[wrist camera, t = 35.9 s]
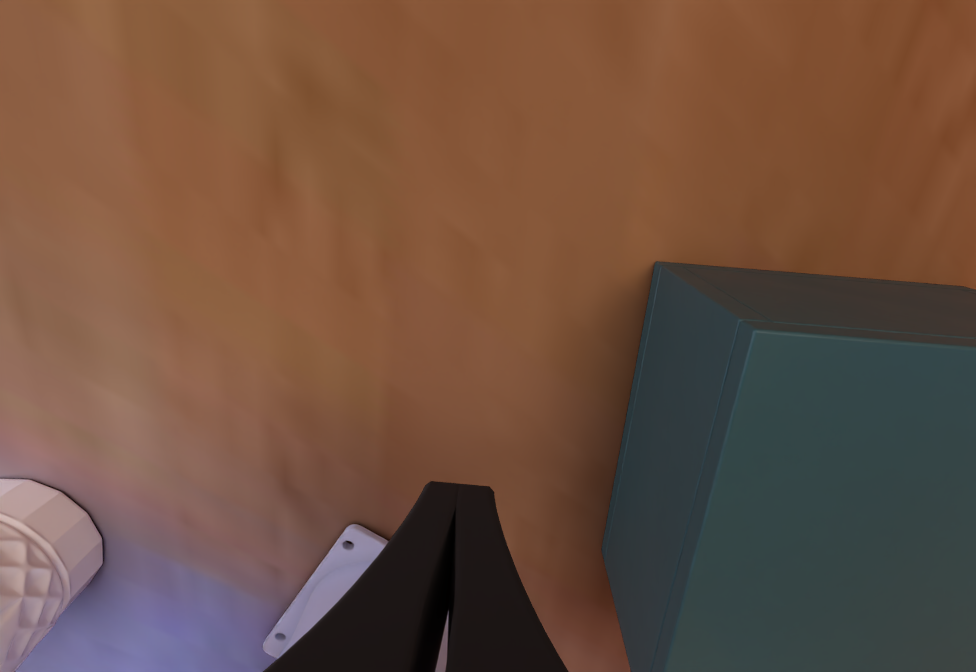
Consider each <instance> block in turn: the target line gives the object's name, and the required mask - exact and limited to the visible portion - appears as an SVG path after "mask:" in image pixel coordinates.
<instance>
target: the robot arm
mask: <svg viewBox="0 0 976 672" xmlns="http://www.w3.org/2000/svg"><path fill="white" fill-rule="evenodd" d="M346 541H351V542H352V543H353V544H349V543H347V542H346ZM262 647H263V650H264V651H265V653H267V654H268V655H271V656H273V657H275V658H277V660H276V661H275V662H274V663H272V664H271V665H270V666H269V667H268V668H267V669H266V670H264V671H263V672H568V670H567V668H566V667H565V665H564V663H563V662H562V660H561V658H560V657H559V655H558V653H557V652H556V650H555V648H554V646H553V644H552V643H551V641H550V639H549V637H548V635H547V633H546V632H545V630H544V628H543V626H542V624H541V622H540V620H539V618H538V616H537V614H536V612H535V610H534V608H533V606H532V604H531V602H530V599H529V597H528V595H527V593H526V591H525V589H524V586H523V584H522V582H521V579H520V577H519V575H518V572H517V570H516V567H515V565H514V562H513V559H512V557H511V554H510V552H509V549H508V546H507V543H506V540H505V537H504V534H503V531H502V528H501V524H500V521H499V517H498V513H497V509H496V504H495V498H494V491H493V490H492V489H491V488H490V487H489V486H478V485H467V484H456V483H445V482H434V481H431V482H429V483H428V484H427V485H425V487H424V489H423V491H422V493H421V495H420V496H419V498H418V500H417V501H416V503H415V505H414V506H413V508H412V509H411V511H410V512H409V514H408V515H407V517H406V518H405V520H404V521H403V523H402V524H401V526H400V527H399V528H398V530H397V531H396V532H395V534H394V535H393V536H392V538H391V539H390V540H389V541H387V540H386V539H384V538H382V537H380V536H378V535H377V534H375V533H373V532H371V531H369V530H368V529H366V528H364V527H362V526H360V525H357V524H352V525H349V526H348V527H347V528H346V529H345V530H344V532H343V533H342V534H341V536H340V537H339V539H338V540H337V541H336V543H335V544H334V545H333V547H332V548H331V550H330V551H329V552H328V554H327V555H326V556H325V558H324V559H323V561H322V562H321V563H320V565H319V566H318V567H317V569H316V570H315V572H314V573H313V574H312V576H311V577H310V578H309V580H308V581H307V583H306V584H305V585H304V587H303V588H302V589H301V591H300V592H299V594H298V595H297V596H296V598H295V599H294V600H293V602H292V603H291V605H290V606H289V607H288V609H287V610H286V611H285V613H284V614H283V616H282V617H281V618H280V620H279V621H278V622H277V624H276V625H275V627H274V628H273V629H272V631H271V632H270V633H269V635H268V636H267V638H266V639H265V641H264V643H263V646H262Z"/></svg>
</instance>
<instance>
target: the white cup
mask: <svg viewBox="0 0 976 672" xmlns="http://www.w3.org/2000/svg"><path fill="white" fill-rule="evenodd" d="M102 564H103V548H102V537H101V536H100V534H99V532H98V530H97V529H96V527H95V525H94V523H93V522H92V520H91V518H90V517H89V515H88V513H87V512H86V511H84V510H83V509H82V508H81V507H79V506H78V505H77V504H76V503H75V502H73V501H72V500H71V499H70V498H68V497H67V496H66V495H65V494H63V493H62V492H60V491H58V490H55V489H53V488H50V487H48V486H45V485H43V484H40V483H37V482H35V481H32V480H29V479H0V672H15V671H16V669H17V668H18V667H19V666H20V665H21V664H22V662H23V661H24V660H25V659H26V658H27V657H28V656H29V654H30V653H31V652H32V650H33V649H34V648H35V646H36V645H37V644H38V643H39V642H40V641H41V640H42V639H43V638H44V637H45V636H46V634H47V633H48V632H49V631H50V630H51V629H52V627H53V626H54V625H55V624H56V622H57V620H58V617H59V616H60V615H61V614H62V613H63V612H64V611H65V609H66V608H67V607H68V606H69V605H70V604H71V603H72V602H73V601H74V600H75V599H76V598H77V596H78V595H79V594H80V593H81V592H82V591H83V590H84V589H85V588H86V587H87V586H88V584H89V583H90V582H91V580H92V579H93V577H94V576H95V574H96V573H97V571H98V570H99V569H100V567H101V566H102Z"/></svg>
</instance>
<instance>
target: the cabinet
mask: <svg viewBox="0 0 976 672" xmlns="http://www.w3.org/2000/svg"><path fill="white" fill-rule="evenodd" d="M601 550H602V554H603V559H604V562H605V567H606V571H607V575H608V579H609V583H610V587H611V592H612V596H613V600H614V604H615V608H616V612H617V616H618V620H619V624H620V628H621V633H622V637H623V641H624V645H625V649H626V653H627V657H628V661H629V665H630V669H631V672H976V290H975V289H971V288H967V287H964V286H952V285H940V284H928V283H915V282H903V281H891V280H879V279H866V278H854V277H842V276H829V275H817V274H805V273H793V272H780V271H768V270H756V269H744V268H731V267H719V266H707V265H694V264H682V263H670V262H658V261H657V262H655V266H654V272H653V277H652V282H651V288H650V293H649V298H648V304H647V309H646V314H645V320H644V325H643V330H642V336H641V341H640V346H639V352H638V357H637V362H636V368H635V373H634V378H633V384H632V389H631V394H630V400H629V405H628V410H627V416H626V421H625V426H624V432H623V437H622V442H621V448H620V453H619V458H618V464H617V469H616V474H615V480H614V485H613V490H612V496H611V501H610V506H609V512H608V517H607V522H606V528H605V533H604V538H603V544H602V549H601Z"/></svg>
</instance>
